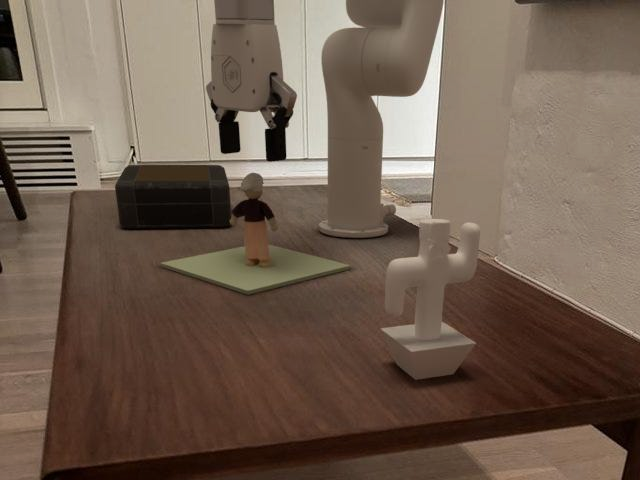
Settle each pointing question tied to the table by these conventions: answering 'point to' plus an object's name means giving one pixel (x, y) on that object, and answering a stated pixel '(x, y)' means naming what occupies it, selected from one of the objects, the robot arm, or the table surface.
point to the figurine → (430, 300)
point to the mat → (254, 269)
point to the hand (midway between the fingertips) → (253, 156)
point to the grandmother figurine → (255, 221)
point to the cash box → (173, 197)
